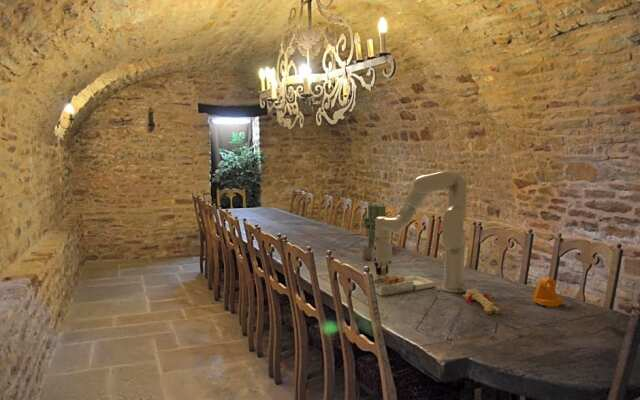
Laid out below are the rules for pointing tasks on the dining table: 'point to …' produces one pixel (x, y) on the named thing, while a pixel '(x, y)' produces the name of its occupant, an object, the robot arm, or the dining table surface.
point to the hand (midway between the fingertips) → (382, 273)
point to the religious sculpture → (373, 221)
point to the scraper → (382, 271)
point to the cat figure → (481, 300)
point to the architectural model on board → (368, 253)
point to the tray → (420, 282)
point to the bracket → (546, 293)
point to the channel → (392, 287)
